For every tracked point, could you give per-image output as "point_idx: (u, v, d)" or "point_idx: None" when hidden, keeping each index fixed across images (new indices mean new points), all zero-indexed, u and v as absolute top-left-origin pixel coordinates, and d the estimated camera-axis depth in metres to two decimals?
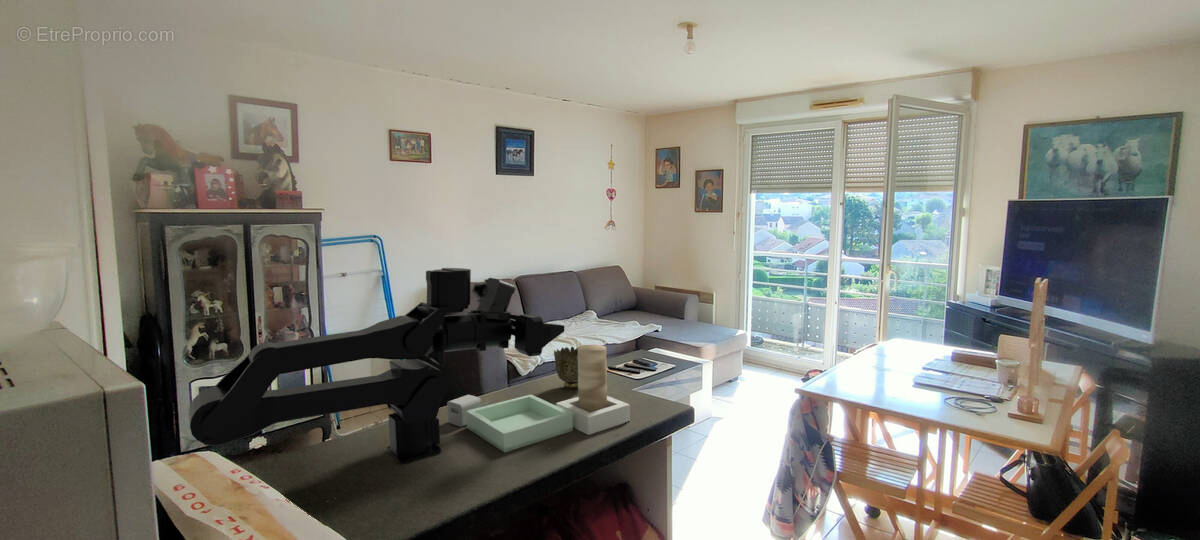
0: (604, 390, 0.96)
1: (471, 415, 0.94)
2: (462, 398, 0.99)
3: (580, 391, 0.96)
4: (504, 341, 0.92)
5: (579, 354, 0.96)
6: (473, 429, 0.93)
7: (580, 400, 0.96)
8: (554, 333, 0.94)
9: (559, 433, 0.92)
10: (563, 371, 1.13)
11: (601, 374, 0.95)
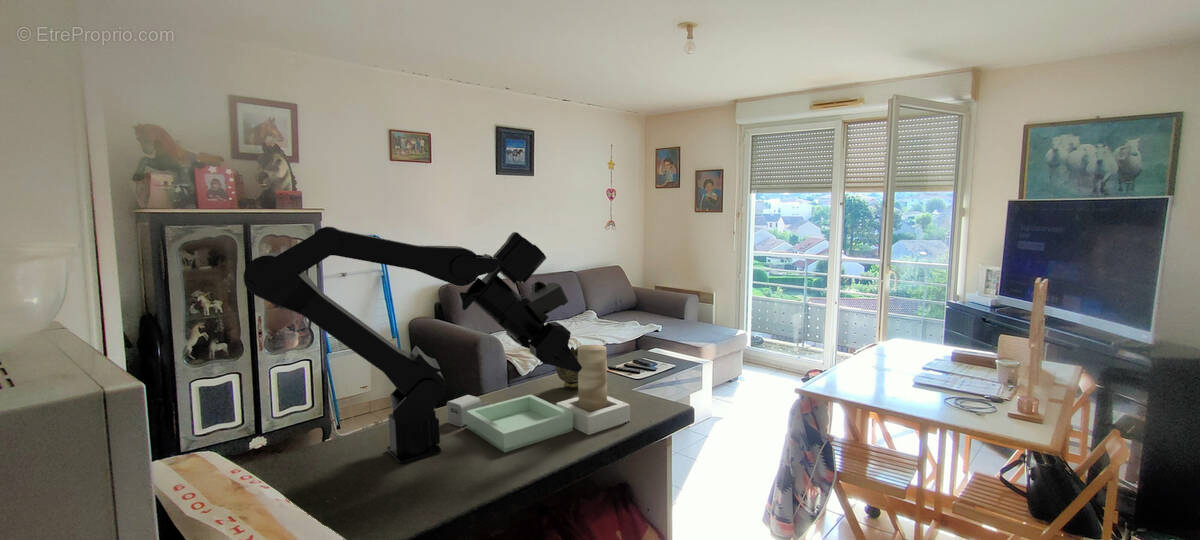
0: (604, 390, 0.96)
1: (471, 415, 0.94)
2: (462, 398, 0.99)
3: (580, 391, 0.96)
4: (525, 336, 0.89)
5: (579, 354, 0.96)
6: (473, 429, 0.93)
7: (580, 400, 0.96)
8: (569, 364, 0.89)
9: (559, 433, 0.92)
10: (563, 371, 1.13)
11: (601, 374, 0.95)
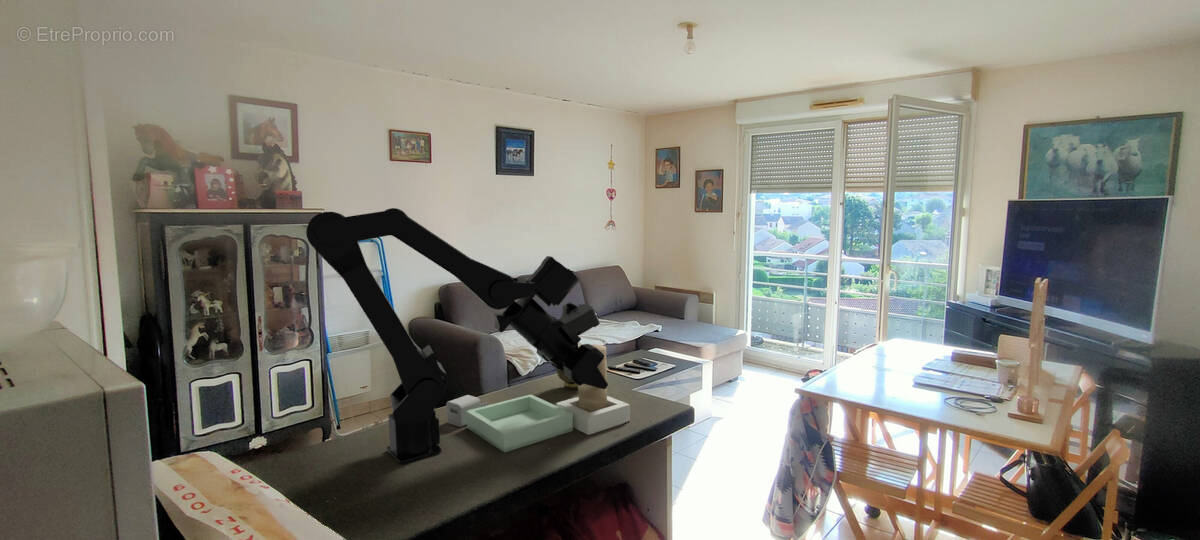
0: (604, 389, 0.96)
1: (471, 415, 0.94)
2: (461, 398, 0.99)
3: (580, 391, 0.96)
4: (558, 357, 0.92)
5: None
6: (473, 429, 0.93)
7: (580, 400, 0.96)
8: (596, 382, 0.94)
9: (559, 433, 0.92)
10: (563, 371, 1.13)
11: None
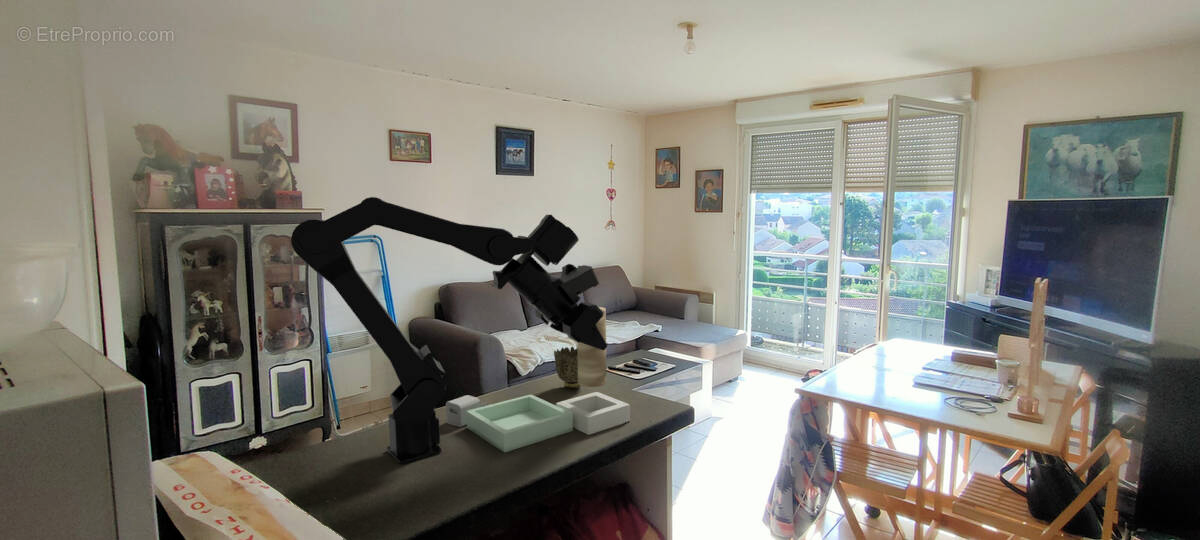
0: (603, 351, 0.95)
1: (471, 415, 0.94)
2: (461, 398, 0.99)
3: (579, 352, 0.95)
4: (557, 316, 0.91)
5: None
6: (473, 429, 0.93)
7: (579, 361, 0.96)
8: (595, 342, 0.93)
9: (559, 433, 0.92)
10: (563, 371, 1.13)
11: None
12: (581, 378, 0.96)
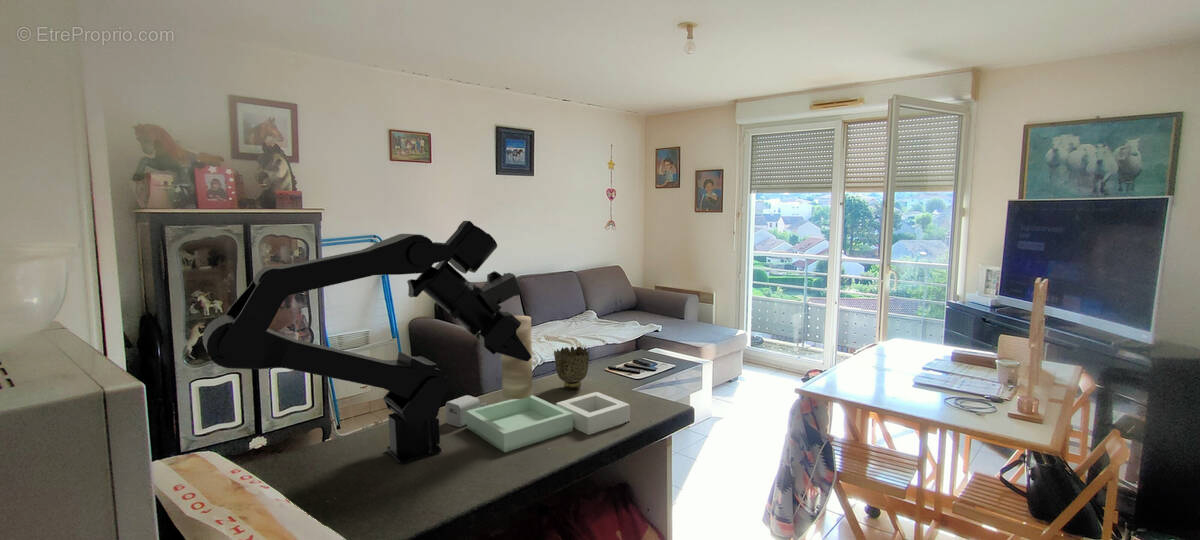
0: (528, 362, 0.92)
1: (471, 415, 0.94)
2: (460, 399, 0.98)
3: (503, 363, 0.92)
4: (476, 326, 0.88)
5: None
6: (473, 429, 0.93)
7: (503, 372, 0.92)
8: (518, 353, 0.89)
9: (559, 433, 0.92)
10: (563, 371, 1.13)
11: (524, 345, 0.91)
12: (505, 389, 0.92)
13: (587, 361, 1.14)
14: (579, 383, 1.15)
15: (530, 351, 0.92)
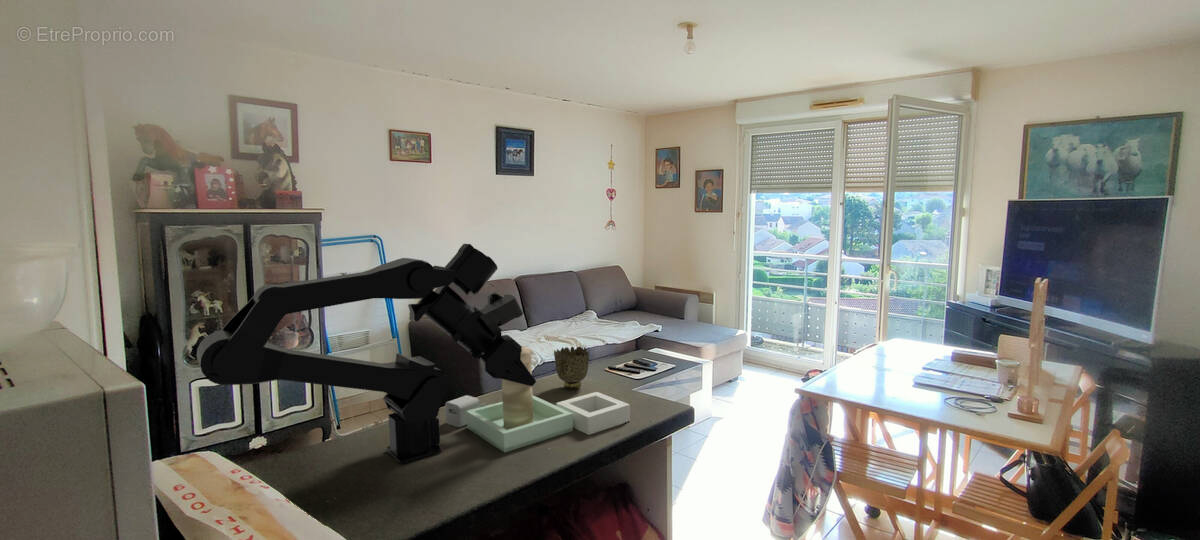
0: (528, 394, 0.92)
1: (471, 415, 0.94)
2: (460, 399, 0.98)
3: (503, 396, 0.92)
4: (477, 349, 0.88)
5: None
6: (473, 429, 0.93)
7: (504, 405, 0.93)
8: (522, 378, 0.88)
9: (559, 433, 0.92)
10: (563, 371, 1.13)
11: None
12: (505, 422, 0.93)
13: (587, 361, 1.14)
14: (579, 383, 1.15)
15: None
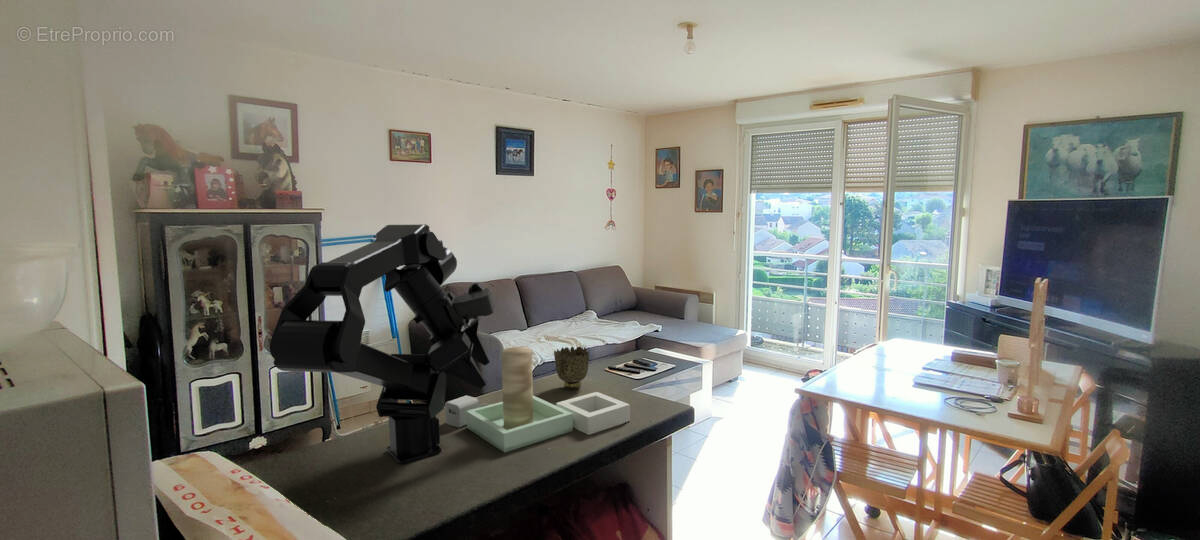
0: (528, 394, 0.92)
1: (471, 415, 0.94)
2: (460, 399, 0.98)
3: (504, 395, 0.92)
4: (436, 336, 0.86)
5: (502, 357, 0.92)
6: (473, 429, 0.93)
7: (504, 405, 0.93)
8: (470, 378, 0.85)
9: (559, 433, 0.92)
10: (563, 371, 1.13)
11: (525, 378, 0.92)
12: (506, 421, 0.93)
13: (587, 361, 1.14)
14: (579, 383, 1.15)
15: (531, 383, 0.93)
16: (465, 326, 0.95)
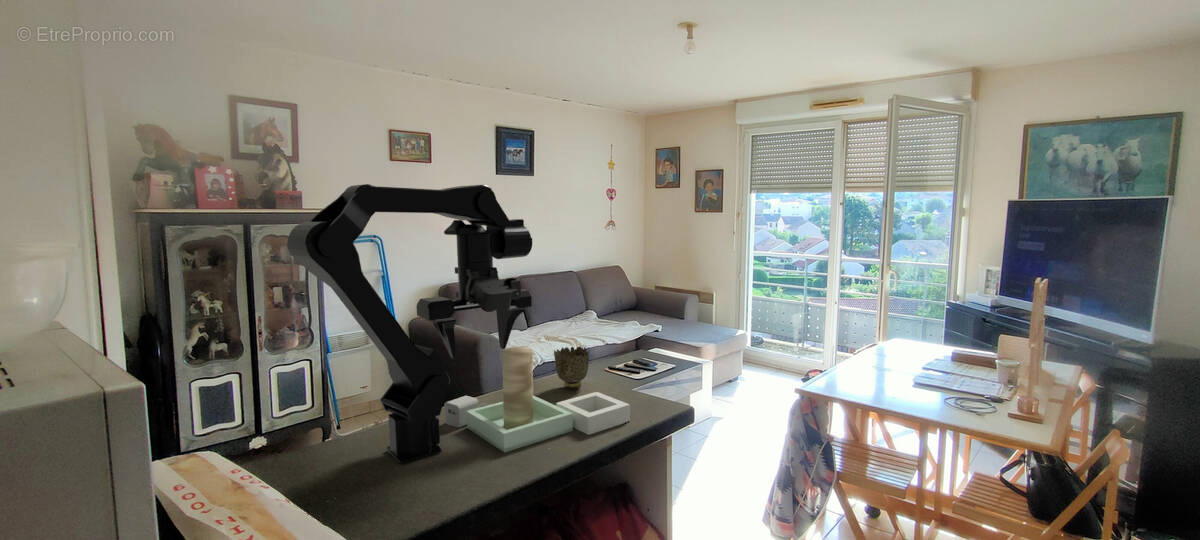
0: (529, 394, 0.92)
1: (471, 415, 0.94)
2: (459, 399, 0.98)
3: (504, 395, 0.92)
4: (459, 293, 0.93)
5: (503, 357, 0.92)
6: (473, 429, 0.93)
7: (504, 404, 0.93)
8: (445, 343, 0.91)
9: (559, 433, 0.92)
10: (563, 371, 1.13)
11: (525, 378, 0.92)
12: (506, 421, 0.93)
13: (587, 361, 1.14)
14: (579, 383, 1.15)
15: (531, 383, 0.93)
16: None
